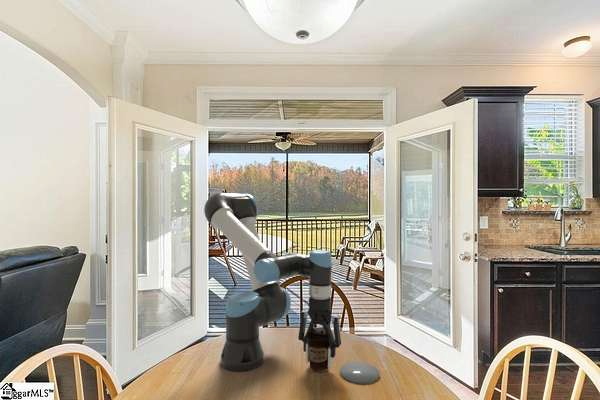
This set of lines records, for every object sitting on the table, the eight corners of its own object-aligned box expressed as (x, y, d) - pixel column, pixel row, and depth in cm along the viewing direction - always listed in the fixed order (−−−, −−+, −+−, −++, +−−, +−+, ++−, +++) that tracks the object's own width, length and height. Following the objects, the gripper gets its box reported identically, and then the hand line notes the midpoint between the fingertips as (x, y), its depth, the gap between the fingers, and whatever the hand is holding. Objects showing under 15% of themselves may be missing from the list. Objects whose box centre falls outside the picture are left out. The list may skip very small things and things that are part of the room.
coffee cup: (329, 376, 114) (330, 336, 113) (304, 373, 115) (305, 333, 115) (332, 363, 122) (333, 326, 122) (309, 360, 124) (310, 324, 124)
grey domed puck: (334, 378, 113) (334, 375, 113) (346, 361, 125) (346, 358, 125) (374, 387, 107) (374, 384, 107) (382, 368, 119) (383, 366, 119)
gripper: (288, 295, 119) (287, 362, 119) (345, 303, 111) (344, 375, 111) (297, 290, 126) (296, 353, 126) (352, 297, 118) (351, 365, 118)
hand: (319, 363), depth 119 cm, fingers closed on coffee cup, 7 cm apart
